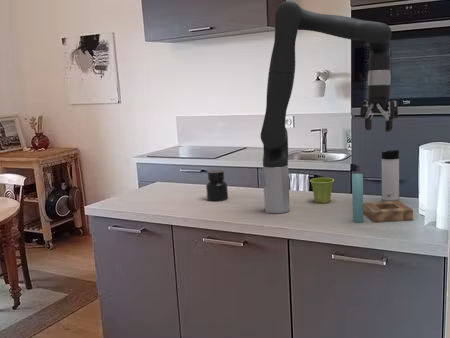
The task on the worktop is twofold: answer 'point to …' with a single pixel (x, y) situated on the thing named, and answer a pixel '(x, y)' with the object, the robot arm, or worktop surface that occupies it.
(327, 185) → the plant pot
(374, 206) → the socket block
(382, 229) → the worktop surface
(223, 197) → the ink bottle
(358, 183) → the dowel
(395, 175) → the travel mug
